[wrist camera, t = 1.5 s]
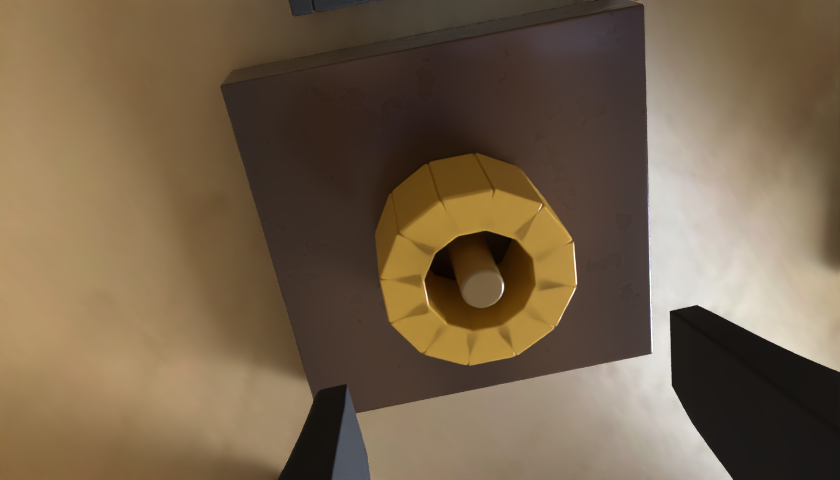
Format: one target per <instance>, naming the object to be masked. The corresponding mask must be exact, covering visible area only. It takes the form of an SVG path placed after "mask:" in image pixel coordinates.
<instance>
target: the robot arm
mask: <svg viewBox="0 0 840 480" xmlns="http://www.w3.org/2000/svg"><path fill="white" fill-rule="evenodd" d="M670 336H671V372H672V387H673V389H674V390H675V392H676V394H677V396H678V398H679V400H680V402H681V404H682V406H683V408H684V409H685V411H686V413H687V415H688V416H689V418H690V420H691V422H692V423H693V425H694V426H695V428H696V429H697V431H698V432H699V433H700V435H701V436H702V438H703V439H704V440H705V442H706V443H707V445H708V446H709V447H710V449H711V450H712V451H713V453H714V454H715V455H716V457H717V458H718V460H719V461H720V462H721V464H722V465H723V466H724V468H725V469H726V470H727V472H728V473H729V474H730V476H731V477H732V478H733V480H840V372H838V371H836V370H833V369H830V368H828V367H825V366H823V365H821V364H818V363H816V362H814V361H811V360H809V359H807V358H804V357H802V356H800V355H797V354H795V353H793V352H791V351H789V350H787V349H784V348H782V347H780V346H778V345H776V344H774V343H772V342H770V341H768V340H766V339H764V338H762V337H760V336H758V335H756V334H754V333H752V332H750V331H748V330H746V329H744V328H742V327H740V326H738V325H736V324H734V323H732V322H730V321H728V320H726V319H724V318H722V317H720V316H718V315H716V314H714V313H712V312H711V311H708V310H706V309H704V308H702V307H700V306H698V305H695V306H691V307H686V308H682V309H677V310H673V311H670ZM277 480H370V472H369V464H368V456H367V452H366V448H365V445H364V442H363V438H362V435H361V431H360V428H359V424H358V421H357V417H356V414H355V410H354V407H353V403H352V400H351V396H350V393H349V389H348V386H347V384H343V385H339V386H334V387H330V388H325V389H321V390H319V391H318V392H317V394H316V395H315V398H314V401H313V404H312V406H311V409H310V412H309V414H308V417H307V419H306V422H305V424H304V426H303V429H302V431H301V433H300V436H299V438H298V440H297V442H296V444H295V446H294V448H293V450H292V453H291V455H290V457H289V459H288V461H287V463H286V465H285V467H284V469H283V470H282V472H281V474H280V476H279V478H278V479H277Z"/></svg>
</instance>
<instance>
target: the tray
mask: <svg viewBox="0 0 840 480" xmlns="http://www.w3.org/2000/svg"><path fill="white" fill-rule="evenodd" d="M373 1H378V0H289V4H290V8H291V12H292V15H293V16H300V15H305V14H310V13H313V12H314V10H315V12H321V11H326V10H331V9H336V8H342V7H347V6H352V5H357V4H362V3H368V2H373Z"/></svg>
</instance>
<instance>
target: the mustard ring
mask: <svg viewBox="0 0 840 480" xmlns="http://www.w3.org/2000/svg"><path fill="white" fill-rule="evenodd" d="M486 230H487V231H490V232H493V233H497V234H500V235H503V236H506V237H510V238H512V241H511V243H510V245H509V247H508V249H507V251H506V254H505V256H504V258H503V260H502V262H500V263H499V264H498V265H497V267H498V270H499V272H500V274H501V277H502V279H503V282H504V291H503V294H502V296H501V297H500V299H499V300H498V301H497V302H496V303H494V304H493V305H491V306H488V307H484V308H477V307H474V306H471V305H469V304H468V303H466V302H465V301H464V299H463V298H462V296H461V292H460V289H459V286H458V283H457V281H455V280H452V279H448V278H445V277H441V276H438V275H435V274H434V273H433V272H432V271H431V270H430V269H429V267H430V265H431V263H432V260H433V258H434V255H435V254H436V253H437V252H438V251H439V250H441V249H442V248H443V247H445V246H446V245H447V244H448V243H450V242H451V241H452V240H453V239H455V238H456V237H457V236H461V235H466V234H471V233H476V232H481V231H486ZM375 233H376V234H375V241H376V251H377V261H378V271H379V281H380V285H381V290H382V294H383V299H384V303H385V308H386V312H387V317H388V321H389V322H390V324H391V325H392V326H393V327H394V328H395V329H396V330H397V331H398V332H399V333H400V334H401V335H402V336H403V337H404V338H405V339H407V340H408V341H409V342H410V343H411V344H412V345H413V346H414V347H415V348H416V349H417V350H418V351H419V352H420V353H423V354H424V355H427V356H431V357H435V358H439V359H443V360H447V361H451V362H455V363H459V364H463V365H467V364H469V365H475V364H480V363H485V362H490V361H495V360H500V359H505V358H510V357H514V356H515V354H516V355H519V354H520V353H521V352H523V351H524V350H526V349H527V348H528V347H530V346H531V345H532V344H534V343H535V342H537V341H538V340H539V339H541V338H542V337H544V336H545V335H546V334H548V333H549V332H550V331H552V330H553V329H554V326H557V324H558V322H559V321H560V319H561V317H562V315H563V313H564V311H565V309H566V307H567V305H568V303H569V301H570V299H571V297H572V295H573V293H574V291H575V289H576V285H577V275H576V262H575V250H574V242H573V240H572V237H571V236H570V234H569V233H568V231H567V230H566V228H565V227H564V226H563V224H562V223H561V221H560V220H559V218H558V217H557V216H556V214H555V213H554V211H553V210H552V208H551V207H550V205H549V204H548V203H547V201H546V200H545V198H544V197H543V196H542V195H541V193H540V192H539V191H538V190H537V188H536V187H535V186H534V185H533V184H532V182H531V181H530V180H529V179H528V177H527V176H526V175H525V174H524V173H523V171H522V170H521V169H518V167H517V166H515V165H512V164H509V163H506V162H503V161H500V160H497V159H494V158H491V157H488V156H485V155H482V154H479V153H476V154H475V155H474V154H466V155H461V156H456V157H451V158H446V159H440V160H435V161H431V162H429V165H428V164H424V165H423V166H422V167H421V168H419V169H418V170H417V171H416V172H414V173H413V174H412V175H411V176H410V177H408V178H407V179H406V180H405V181H404V182H402V183H401V184H400V185H399V186H397V187H396V188H395V189H394V190H393V191H392V193H390V194H389V196H388V199H387V202H386V204H385V207H384V210H383V212H382V215H381V218H380V220H379V223H378V226H377V228H376V231H375Z"/></svg>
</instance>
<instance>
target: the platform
mask: <svg viewBox="0 0 840 480" xmlns="http://www.w3.org/2000/svg"><path fill="white" fill-rule="evenodd" d="M220 88H221V92H222V95H223V98H224V102H225V105H226V108H227V112H228V115H229V118H230V122H231V125H232V128H233V132H234V135H235V139H236V142H237V145H238V149H239V152H240V155H241V159H242V162H243V165H244V169H245V172H246V175H247V179H248V182H249V186H250V189H251V192H252V196H253V199H254V202H255V206H256V209H257V212H258V216H259V219H260V222H261V226H262V229H263V232H264V236H265V239H266V243H267V246H268V249H269V253H270V256H271V259H272V263H273V266H274V269H275V273H276V276H277V279H278V283H279V286H280V289H281V293H282V296H283V300H284V303H285V306H286V310H287V313H288V316H289V320H290V323H291V326H292V330H293V333H294V336H295V340H296V343H297V347H298V350H299V353H300V357H301V360H302V363H303V367H304V370H305V373H306V377H307V380H308V383H309V387H310V390H311V393H312V397H313V400H314V398H315V395H316V394H317V392H318V391H319V390H321V389H325V388H330V387H334V386H339V385H343V384H347V386H348V389H349V393H350V396H351V400H352V403H353V407H354V410H355V413H360V412H365V411H370V410H375V409H380V408H385V407H390V406H394V405H399V404H404V403H409V402H414V401H419V400H424V399H429V398H434V397H439V396H444V395H449V394H454V393H459V392H464V391H469V390H474V389H479V388H484V387H489V386H494V385H499V384H504V383H509V382H514V381H519V380H524V379H529V378H534V377H539V376H544V375H549V374H554V373H559V372H564V371H569V370H574V369H579V368H584V367H589V366H593V365H598V364H603V363H608V362H613V361H618V360H623V359H628V358H633V357H638V356H643V355H648V354H652V353H653V345H652V305H651V266H650V226H649V186H648V146H647V106H646V66H645V27H644V5H643V4H640V3H637V2H634V1H631V0H597V1H592V2H586V3H581V4H576V5H571V6H566V7H560V8H555V9H550V10H545V11H540V12H534V13H529V14H524V15H519V16H513V17H508V18H503V19H498V20H493V21H487V22H482V23H477V24H472V25H467V26H461V27H456V28H451V29H446V30H441V31H435V32H430V33H425V34H420V35H415V36H409V37H404V38H399V39H394V40H388V41H383V42H378V43H373V44H368V45H362V46H357V47H352V48H347V49H342V50H336V51H331V52H326V53H321V54H316V55H310V56H305V57H300V58H295V59H290V60H284V61H279V62H274V63H269V64H263V65H258V66H253V67H248V68H243V69H237V70H232V71H231V72H230V73H229V74H228V76H227V77H226V79H225V80H224V82H223V83H222V84H221V87H220ZM476 153H479V154H482V155H485V156H488V157H491V158H494V159H497V160H500V161H503V162H506V163H509V164H512V165H515V166H517V167H518V169H521V170H522V171H523V173H524V174H525V175H526V176H527V177H528V179H529V180H530V181H531V182H532V184H533V185H534V186H535V187H536V188H537V190H538V191H539V192H540V193H541V195H542V196H543V197H544V198H545V200H546V201H547V203H548V204H549V205H550V207H551V208H552V210H553V211H554V213H555V214H556V216H557V217H558V218H559V220H560V221H561V223H562V224H563V226H564V227H565V228H566V230H567V231H568V233H569V234H570V236H571V237H572V240H573V242H574V250H575V262H576V275H577V285H576V289H575V291H574V293H573V295H572V297H571V299H570V301H569V303H568V305H567V307H566V309H565V311H564V313H563V315H562V317H561V319H560V321H559V322H558V324H557V326H554V329H553V330H552V331H550V332H549V333H548V334H546V335H545V336H544V337H542V338H541V339H539V340H538V341H537V342H535V343H534V344H532V345H531V346H530V347H528V348H527V349H526V350H524V351H523V352H521V353H520V354H519V355H516V354H515V356H514V357H510V358H505V359H500V360H495V361H490V362H485V363H480V364H475V365H469V364H467V365H463V364H459V363H455V362H451V361H447V360H443V359H439V358H435V357H431V356H427V355H424V354H423V353H420V352H419V351H418V350H417V349H416V348H415V347H414V346H413V345H412V344H411V343H410V342H409V341H408V340H407V339H405V338H404V337H403V336H402V335H401V334H400V333H399V332H398V331H397V330H396V329H395V328H394V327H393V326H392V325H391V324H390V322H389V321H388V317H387V312H386V308H385V303H384V299H383V294H382V290H381V285H380V281H379V271H378V261H377V251H376V241H375V234H376V233H375V231H376V228H377V226H378V223H379V220H380V218H381V215H382V212H383V210H384V207H385V204H386V202H387V199H388V196H389V194H390V193H392V191H393V190H394V189H395V188H396V187H397V186H399V185H400V184H401V183H402V182H404V181H405V180H406V179H407V178H408V177H410V176H411V175H412V174H413V173H414V172H416V171H417V170H418V169H419V168H421V167H422V166H423V165H424V164H428V165H429V162H431V161H435V160H440V159H446V158H451V157H456V156H461V155H466V154H474V155H475V154H476ZM511 241H512V238H510V237H506V236H503V235H500V234H497V233H493V232H490V231H487V230H486V231H481V232H476V233H471V234H466V235H461V236H457V237H456V238H455V239H453V240H452V241H451V242H450V243H448V244H447V245H446V246H445V247H443V248H442V249H441V250H439V251H438V252H437V253H436V254H435V255H434V258H433V260H432V263H431V265H430V267H429V269H430V270H431V271H432V272H433V273H434V274H435V275H438V276H441V277H445V278H448V279H452V280H455V281H457V283H458V286H459V289H460V292H461V296H462V298H463V299H464V301H465V302H466V303H468V304H469V305H471V306H474V307H477V308H484V307H488V306H491V305H493V304H494V303H496V302H497V301H498V300H499V299H500V297H501V296H502V294H503V291H504V282H503V279H502V277H501V274H500V272H499V270H498V267H497V265H498V264H499V263H500V262H502V260H503V258H504V256H505V254H506V251H507V249H508V247H509V245H510V243H511Z"/></svg>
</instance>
